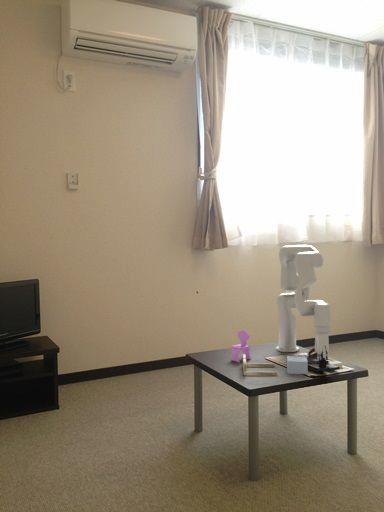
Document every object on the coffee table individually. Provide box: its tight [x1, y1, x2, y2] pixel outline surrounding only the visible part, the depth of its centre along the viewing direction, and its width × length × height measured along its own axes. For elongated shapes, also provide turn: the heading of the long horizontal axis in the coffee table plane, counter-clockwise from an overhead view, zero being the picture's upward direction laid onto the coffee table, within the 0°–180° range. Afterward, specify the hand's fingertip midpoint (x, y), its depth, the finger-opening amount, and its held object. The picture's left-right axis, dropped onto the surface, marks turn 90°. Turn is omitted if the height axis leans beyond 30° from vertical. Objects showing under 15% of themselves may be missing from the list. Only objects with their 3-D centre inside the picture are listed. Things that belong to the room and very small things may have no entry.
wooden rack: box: [242, 353, 278, 377], centre depth 225 cm, size 16×15×6 cm
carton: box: [286, 355, 309, 375], centre depth 224 cm, size 9×9×6 cm
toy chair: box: [230, 329, 252, 363], centre depth 245 cm, size 8×9×15 cm
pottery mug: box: [306, 347, 329, 361], centre depth 240 cm, size 12×10×8 cm
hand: (322, 367), depth 223 cm, fingers closed
